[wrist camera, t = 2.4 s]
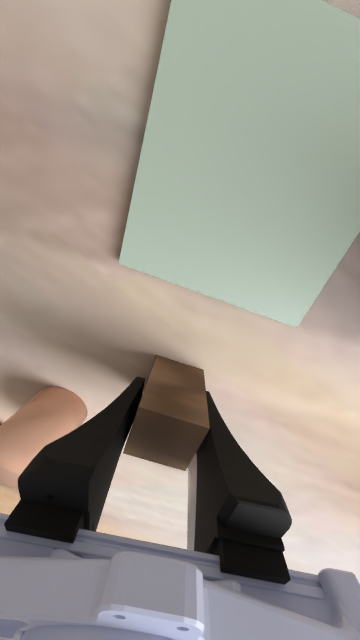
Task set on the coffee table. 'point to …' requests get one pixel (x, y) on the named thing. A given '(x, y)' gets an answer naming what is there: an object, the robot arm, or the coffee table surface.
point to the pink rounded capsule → (37, 429)
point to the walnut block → (170, 415)
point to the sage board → (250, 153)
